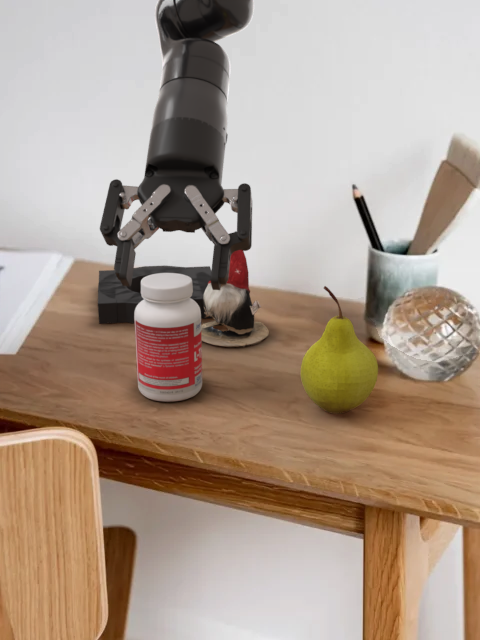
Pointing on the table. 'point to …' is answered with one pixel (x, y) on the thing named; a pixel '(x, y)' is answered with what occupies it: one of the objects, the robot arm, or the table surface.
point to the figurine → (232, 309)
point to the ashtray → (123, 300)
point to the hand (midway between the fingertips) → (170, 284)
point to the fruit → (338, 367)
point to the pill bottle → (168, 338)
